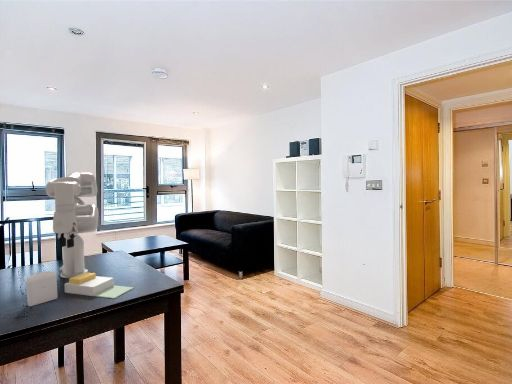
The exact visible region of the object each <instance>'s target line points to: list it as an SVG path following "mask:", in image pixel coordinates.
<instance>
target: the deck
mask: <svg viewBox="0 0 512 384" xmlns="http://www.w3.org/2000/svg"><path fill="white" fill-rule="evenodd" d="M114 285H115V278H114V277H111V276H110V277H108V276H97V275H96V278H93V279H91V280H88V281H86V282H83V283H81V284H75V283H69V281H68V282H66V283H64V293H67V294H74V295H81V296H90V297H95V296H94V295H96V294H98V293H100V292H102V291H104V290H106V289H108V288H110V287H112V286H114Z"/></svg>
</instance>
